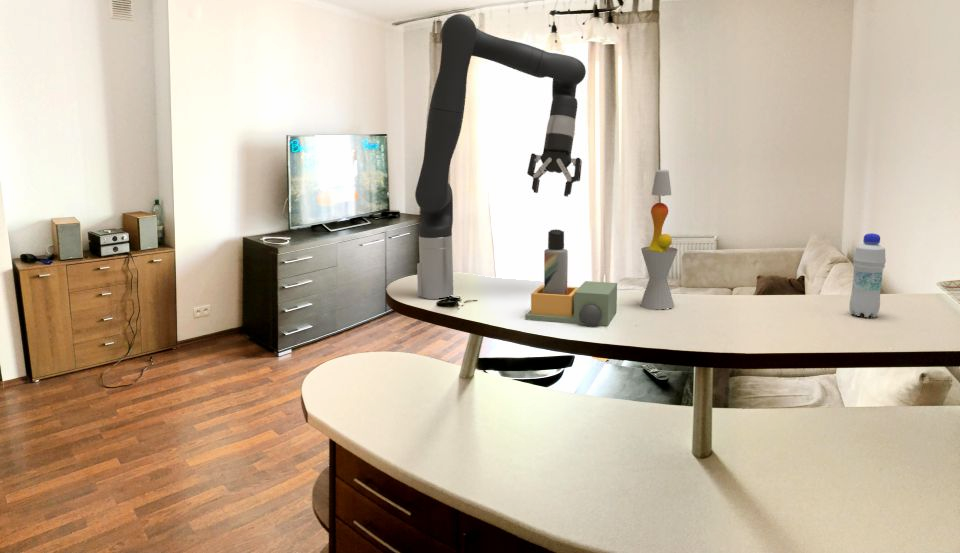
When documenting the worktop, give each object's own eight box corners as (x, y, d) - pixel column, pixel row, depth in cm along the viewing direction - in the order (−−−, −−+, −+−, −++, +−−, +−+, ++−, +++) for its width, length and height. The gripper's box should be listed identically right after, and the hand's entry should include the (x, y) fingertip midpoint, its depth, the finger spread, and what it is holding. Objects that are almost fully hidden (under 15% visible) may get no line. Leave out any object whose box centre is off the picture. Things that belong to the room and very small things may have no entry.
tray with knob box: (523, 321, 158) (523, 290, 157) (540, 305, 173) (541, 277, 171) (606, 327, 151) (607, 295, 150) (617, 310, 166) (618, 281, 165)
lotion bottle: (565, 306, 166) (565, 228, 162) (568, 312, 161) (569, 231, 157) (542, 307, 166) (543, 228, 162) (545, 312, 161) (546, 232, 157)
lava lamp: (632, 306, 171) (636, 170, 164) (650, 299, 177) (655, 168, 170) (663, 311, 165) (669, 171, 158) (681, 305, 171) (687, 169, 164)
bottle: (874, 312, 160) (883, 231, 156) (883, 319, 154) (892, 235, 150) (844, 311, 162) (852, 231, 158) (851, 318, 156) (860, 235, 152)
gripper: (531, 129, 176) (521, 189, 176) (583, 134, 171) (573, 195, 172) (538, 135, 183) (529, 193, 183) (588, 140, 178) (579, 199, 179)
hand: (550, 194), depth 178 cm, fingers open, 8 cm apart
